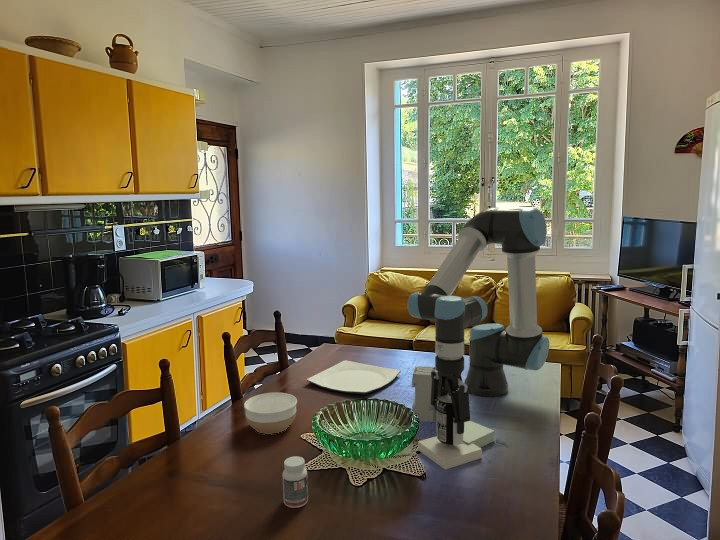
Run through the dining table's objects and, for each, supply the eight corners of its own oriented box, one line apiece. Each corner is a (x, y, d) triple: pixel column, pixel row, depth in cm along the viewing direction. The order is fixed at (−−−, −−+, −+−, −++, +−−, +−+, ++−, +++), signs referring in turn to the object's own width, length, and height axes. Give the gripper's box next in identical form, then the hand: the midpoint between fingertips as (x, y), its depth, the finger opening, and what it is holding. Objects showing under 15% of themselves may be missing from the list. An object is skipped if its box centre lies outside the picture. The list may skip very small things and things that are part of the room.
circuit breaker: (459, 423, 160) (459, 376, 158) (412, 420, 163) (411, 373, 161) (459, 413, 168) (459, 368, 165) (414, 410, 170) (414, 366, 168)
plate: (405, 376, 203) (405, 369, 203) (367, 401, 179) (367, 394, 179) (344, 364, 218) (344, 358, 218) (301, 387, 195) (301, 380, 194)
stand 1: (453, 439, 150) (453, 431, 150) (481, 457, 139) (481, 448, 139) (418, 450, 144) (418, 441, 144) (445, 469, 134) (445, 460, 133)
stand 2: (464, 427, 157) (464, 418, 157) (494, 440, 149) (494, 430, 148) (438, 439, 150) (438, 429, 150) (468, 453, 142) (468, 442, 141)
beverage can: (463, 436, 143) (463, 394, 142) (459, 447, 137) (460, 403, 135) (439, 433, 145) (439, 391, 144) (434, 444, 139) (434, 400, 138)
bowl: (234, 428, 161) (233, 403, 160) (276, 411, 172) (275, 388, 171) (266, 444, 150) (265, 417, 149) (309, 425, 161) (308, 400, 160)
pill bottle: (312, 503, 121) (311, 462, 119) (290, 512, 118) (288, 470, 116) (301, 491, 125) (299, 452, 124) (279, 499, 122) (277, 459, 121)
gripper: (416, 348, 145) (417, 427, 148) (462, 368, 128) (461, 457, 131) (438, 344, 148) (439, 421, 152) (486, 363, 131) (485, 450, 134)
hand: (449, 438), depth 141 cm, fingers closed on beverage can, 7 cm apart
